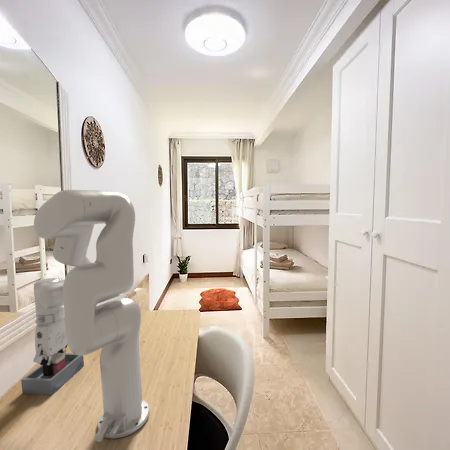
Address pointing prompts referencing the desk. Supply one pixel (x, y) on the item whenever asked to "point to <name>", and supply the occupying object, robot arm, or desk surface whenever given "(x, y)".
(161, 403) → the desk surface
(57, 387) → the walled box
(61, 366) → the small box
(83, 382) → the desk surface
